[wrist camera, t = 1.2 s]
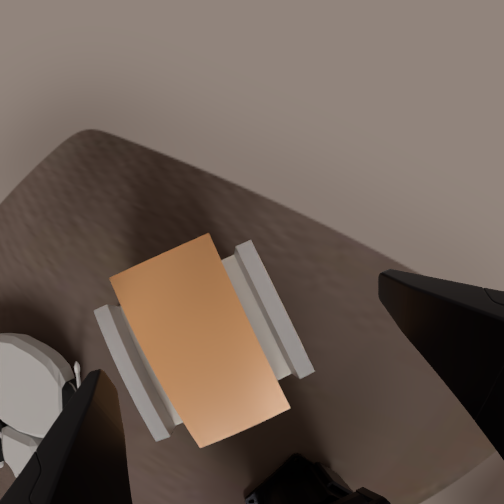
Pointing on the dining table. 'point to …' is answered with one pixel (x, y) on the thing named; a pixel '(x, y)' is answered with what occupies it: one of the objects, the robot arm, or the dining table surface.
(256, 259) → the box
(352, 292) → the dining table surface
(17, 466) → the robot toy
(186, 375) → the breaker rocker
